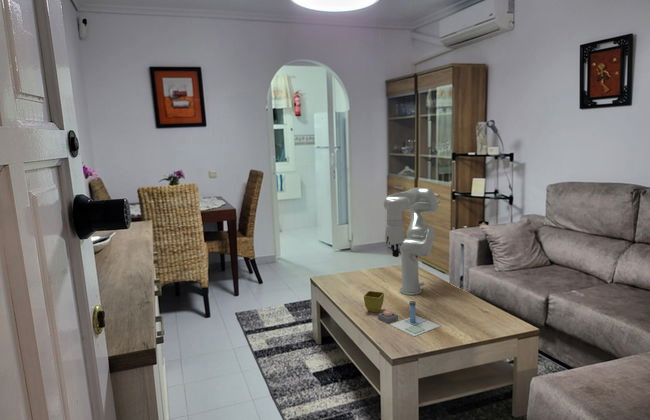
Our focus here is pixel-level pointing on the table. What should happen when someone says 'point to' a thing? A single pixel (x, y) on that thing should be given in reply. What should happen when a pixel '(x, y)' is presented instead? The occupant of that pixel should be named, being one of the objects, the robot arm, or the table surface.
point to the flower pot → (373, 301)
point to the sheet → (415, 326)
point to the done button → (388, 313)
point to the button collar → (388, 318)
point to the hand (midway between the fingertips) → (395, 256)
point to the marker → (412, 311)
